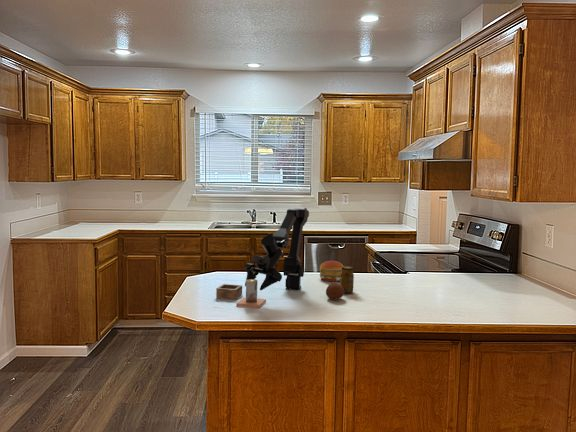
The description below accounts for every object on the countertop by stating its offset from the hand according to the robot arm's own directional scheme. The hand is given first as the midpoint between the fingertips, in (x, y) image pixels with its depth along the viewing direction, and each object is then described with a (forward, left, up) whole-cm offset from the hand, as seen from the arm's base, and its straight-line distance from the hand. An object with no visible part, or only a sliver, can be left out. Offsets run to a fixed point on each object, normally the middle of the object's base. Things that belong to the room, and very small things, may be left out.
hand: (252, 287), depth 224 cm
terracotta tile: (0, +1, -7) cm, 7 cm away
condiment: (-37, -31, -7) cm, 49 cm away
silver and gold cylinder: (0, +1, -6) cm, 6 cm away
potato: (-33, -18, -7) cm, 38 cm away
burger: (-26, -57, -7) cm, 63 cm away
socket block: (+13, -8, -7) cm, 17 cm away
